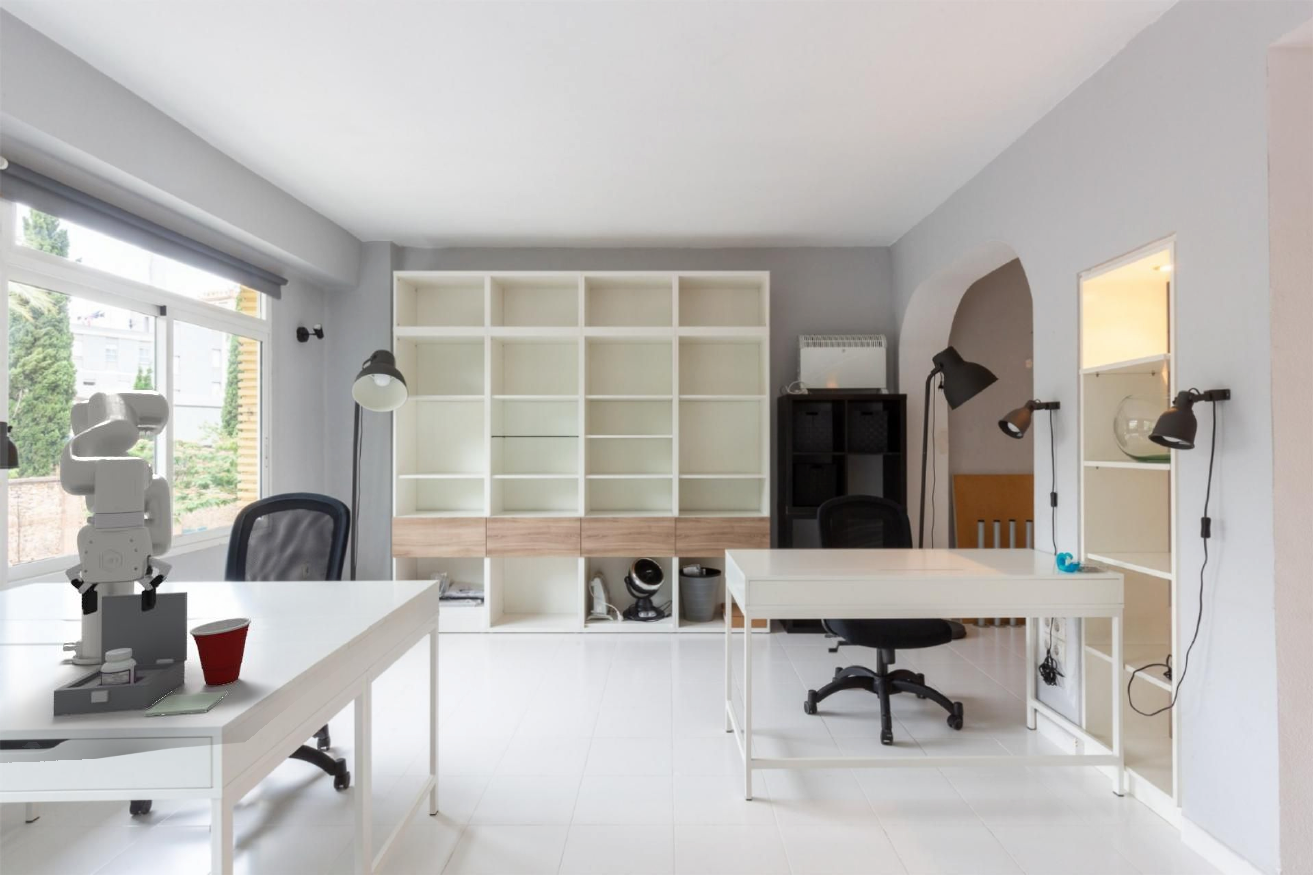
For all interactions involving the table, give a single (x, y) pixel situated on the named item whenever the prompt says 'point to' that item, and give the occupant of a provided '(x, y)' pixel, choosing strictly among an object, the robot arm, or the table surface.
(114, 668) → the pill bottle
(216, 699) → the sage mat
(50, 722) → the table surface
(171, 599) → the equipment case
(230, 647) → the plastic cup
